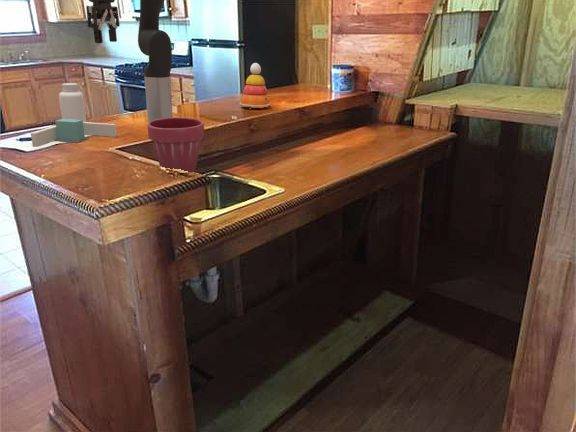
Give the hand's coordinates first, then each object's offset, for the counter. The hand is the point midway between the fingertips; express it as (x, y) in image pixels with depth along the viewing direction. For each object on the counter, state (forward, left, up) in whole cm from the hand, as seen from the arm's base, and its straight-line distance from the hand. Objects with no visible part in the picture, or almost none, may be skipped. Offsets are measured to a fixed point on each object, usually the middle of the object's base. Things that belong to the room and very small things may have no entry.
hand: (106, 42), depth 156 cm
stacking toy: (-72, +29, -30) cm, 83 cm away
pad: (+7, -12, -30) cm, 33 cm away
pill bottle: (-11, -22, -30) cm, 39 cm away
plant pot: (+29, +34, -30) cm, 54 cm away
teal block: (+7, -12, -30) cm, 33 cm away
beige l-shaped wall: (+8, -9, -30) cm, 32 cm away
